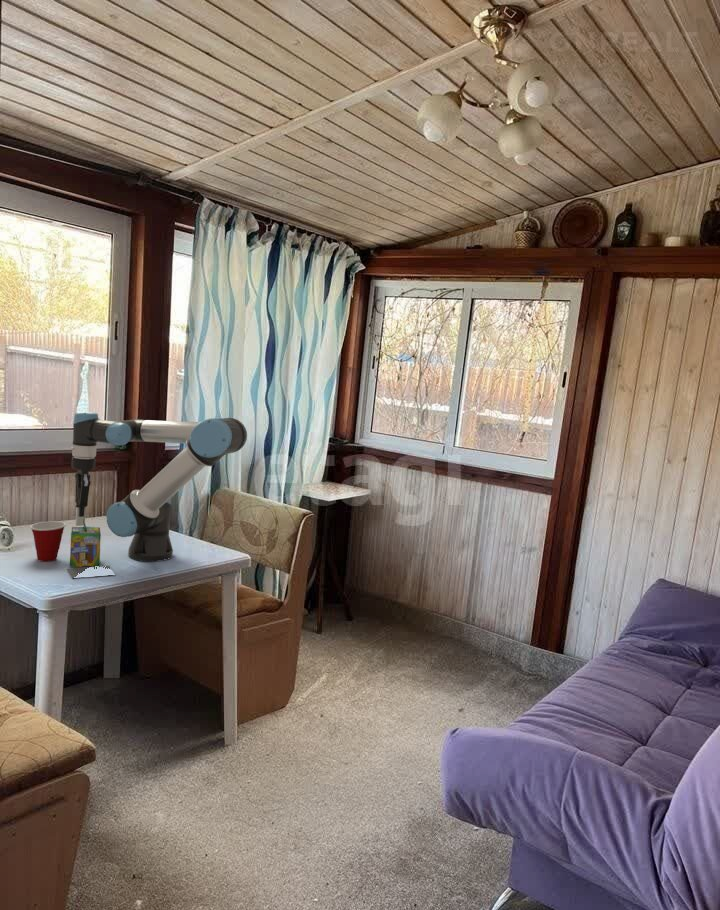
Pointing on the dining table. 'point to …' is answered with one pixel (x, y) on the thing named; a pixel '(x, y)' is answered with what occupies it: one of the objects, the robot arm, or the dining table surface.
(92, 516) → the dining table surface
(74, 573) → the mat
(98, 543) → the chalk box
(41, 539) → the plastic cup
